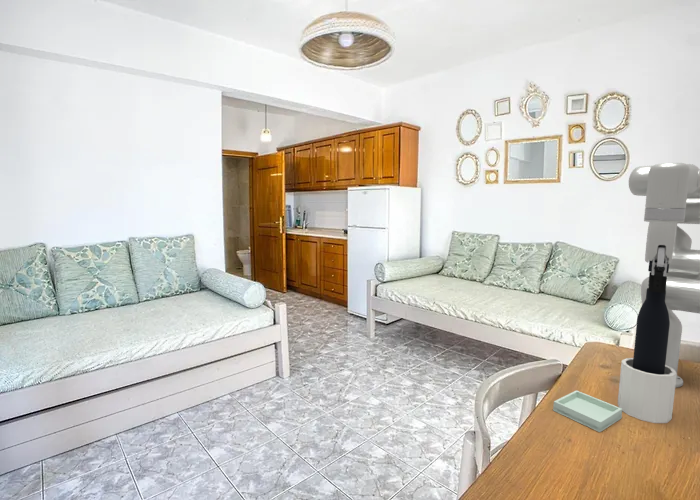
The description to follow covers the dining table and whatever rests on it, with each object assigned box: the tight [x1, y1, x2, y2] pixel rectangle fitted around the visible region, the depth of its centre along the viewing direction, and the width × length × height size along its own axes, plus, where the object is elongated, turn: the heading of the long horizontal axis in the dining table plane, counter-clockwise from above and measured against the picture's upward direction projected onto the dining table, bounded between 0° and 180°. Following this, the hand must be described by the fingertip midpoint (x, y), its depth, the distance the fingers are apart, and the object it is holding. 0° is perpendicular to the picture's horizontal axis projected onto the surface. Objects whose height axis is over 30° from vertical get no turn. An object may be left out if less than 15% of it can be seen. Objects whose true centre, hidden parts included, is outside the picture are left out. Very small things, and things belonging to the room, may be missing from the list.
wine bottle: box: [632, 259, 670, 375], centre depth 94 cm, size 6×6×30 cm
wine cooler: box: [617, 357, 678, 424], centre depth 96 cm, size 11×11×12 cm
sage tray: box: [552, 390, 623, 433], centre depth 95 cm, size 11×11×2 cm
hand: (656, 289), depth 93 cm, fingers closed on wine bottle, 3 cm apart
